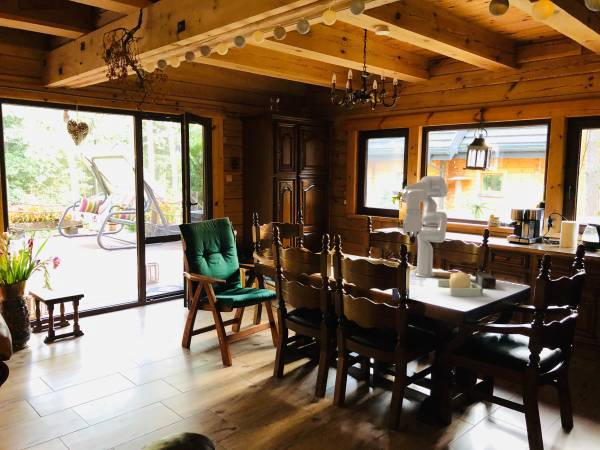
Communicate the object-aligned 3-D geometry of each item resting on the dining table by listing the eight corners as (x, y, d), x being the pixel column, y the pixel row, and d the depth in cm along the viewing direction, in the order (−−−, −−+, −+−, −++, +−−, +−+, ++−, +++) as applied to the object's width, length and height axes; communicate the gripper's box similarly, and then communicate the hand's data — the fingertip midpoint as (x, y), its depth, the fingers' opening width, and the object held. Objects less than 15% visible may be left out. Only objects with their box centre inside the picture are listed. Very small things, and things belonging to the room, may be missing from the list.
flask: (408, 298, 257) (408, 278, 256) (410, 299, 254) (410, 279, 253) (391, 298, 256) (391, 278, 255) (392, 300, 254) (393, 280, 252)
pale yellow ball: (470, 289, 277) (471, 270, 276) (470, 294, 266) (471, 275, 265) (449, 287, 281) (450, 269, 280) (448, 292, 270) (449, 273, 269)
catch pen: (437, 286, 285) (438, 279, 284) (466, 286, 285) (466, 279, 285) (451, 296, 262) (451, 288, 262) (482, 295, 263) (482, 288, 263)
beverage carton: (488, 282, 297) (489, 271, 296) (496, 289, 278) (496, 278, 277) (475, 281, 298) (475, 270, 297) (481, 289, 279) (482, 277, 279)
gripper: (423, 210, 284) (422, 241, 286) (398, 211, 283) (397, 242, 285) (427, 212, 277) (426, 244, 279) (402, 212, 275) (401, 244, 278)
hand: (412, 243), depth 282 cm, fingers closed
